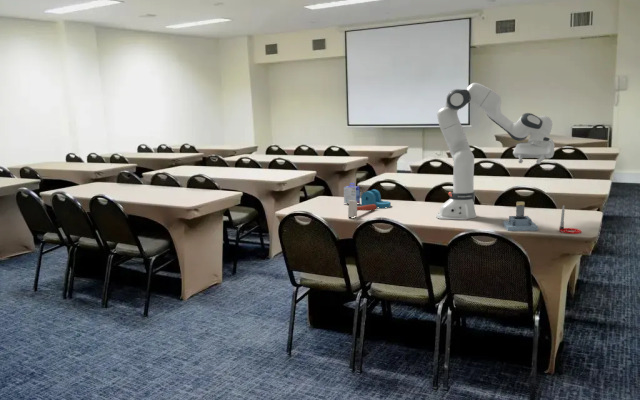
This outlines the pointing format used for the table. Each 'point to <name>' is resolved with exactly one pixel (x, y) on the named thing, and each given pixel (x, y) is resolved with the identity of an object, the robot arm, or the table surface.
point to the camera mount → (374, 199)
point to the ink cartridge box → (351, 193)
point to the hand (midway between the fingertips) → (528, 162)
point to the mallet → (358, 208)
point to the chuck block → (520, 224)
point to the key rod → (520, 210)
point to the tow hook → (564, 230)
